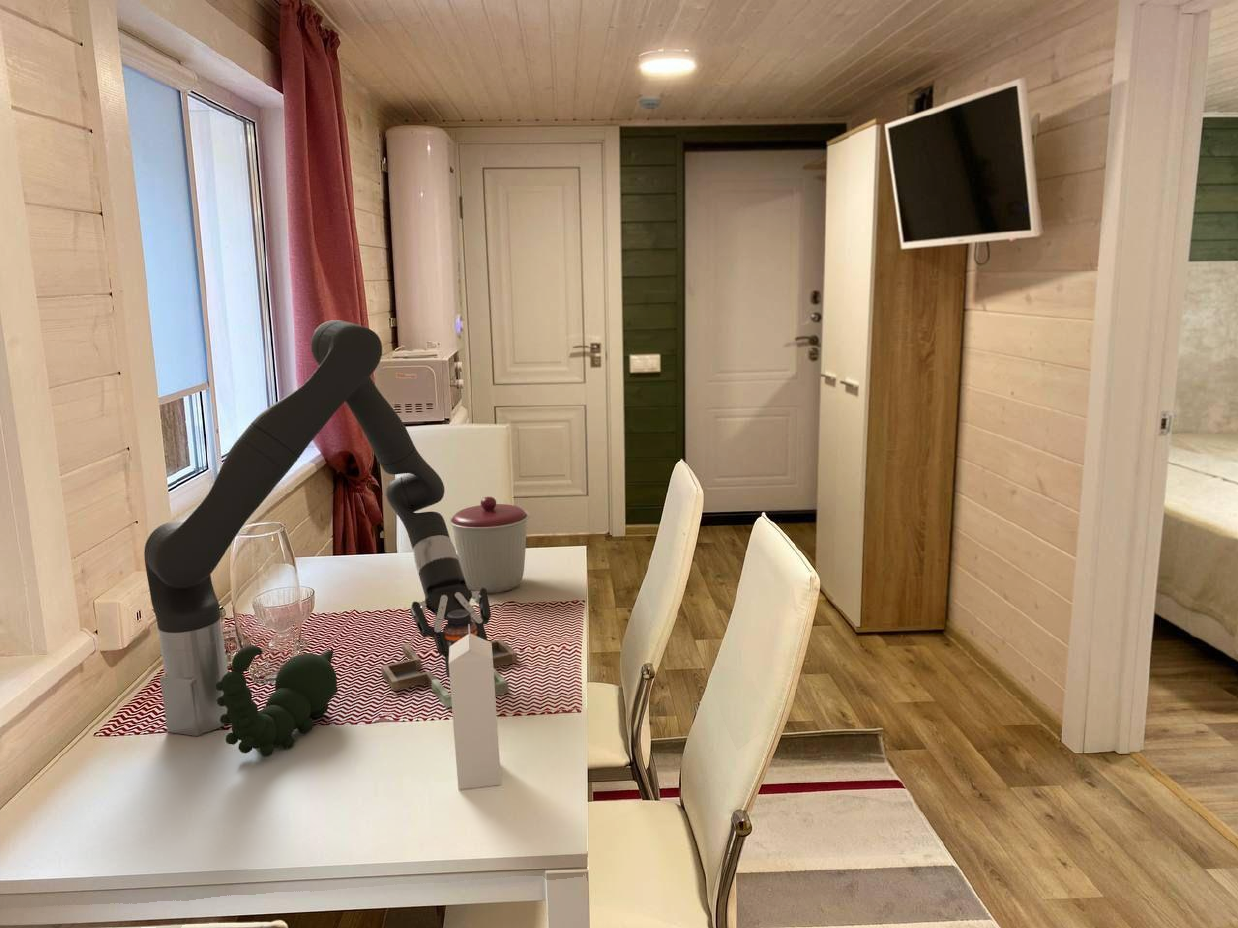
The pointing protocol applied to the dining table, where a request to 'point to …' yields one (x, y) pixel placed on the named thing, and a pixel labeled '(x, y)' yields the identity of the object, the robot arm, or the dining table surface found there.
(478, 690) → the milk
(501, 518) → the canister
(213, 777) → the dining table surface
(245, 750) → the toy figurine
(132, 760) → the dining table surface
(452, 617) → the supplement bottle
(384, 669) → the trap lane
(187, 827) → the dining table surface
